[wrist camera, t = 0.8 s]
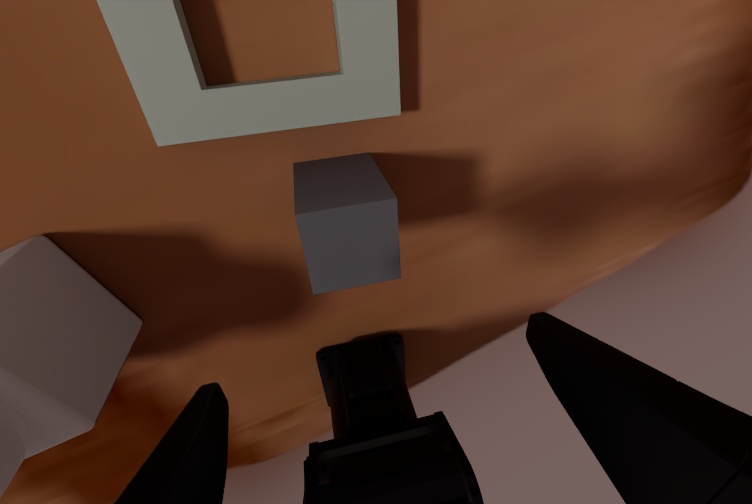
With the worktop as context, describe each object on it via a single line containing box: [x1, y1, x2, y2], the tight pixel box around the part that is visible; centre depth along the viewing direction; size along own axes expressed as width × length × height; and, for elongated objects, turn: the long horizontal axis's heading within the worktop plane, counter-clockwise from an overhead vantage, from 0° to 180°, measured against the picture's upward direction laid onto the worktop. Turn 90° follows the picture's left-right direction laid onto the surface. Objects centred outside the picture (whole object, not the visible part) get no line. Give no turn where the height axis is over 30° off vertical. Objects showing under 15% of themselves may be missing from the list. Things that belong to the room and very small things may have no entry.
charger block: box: [293, 152, 401, 295], centre depth 17 cm, size 4×4×6 cm
